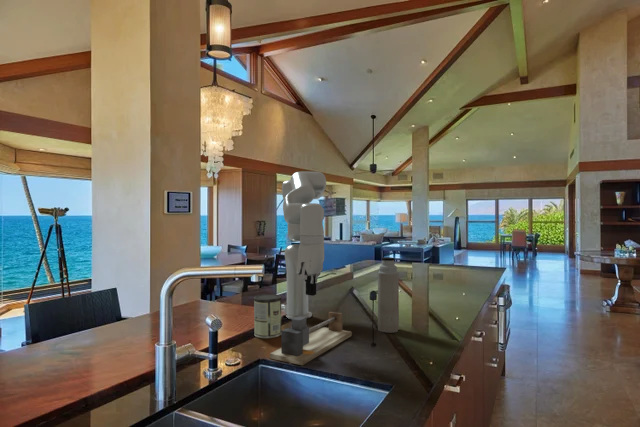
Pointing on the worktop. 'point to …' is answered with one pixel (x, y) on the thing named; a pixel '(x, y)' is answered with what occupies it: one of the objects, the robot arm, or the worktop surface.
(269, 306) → the coffee can
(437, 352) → the worktop surface
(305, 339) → the sleeve
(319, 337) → the rail
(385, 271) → the thermos bottle
